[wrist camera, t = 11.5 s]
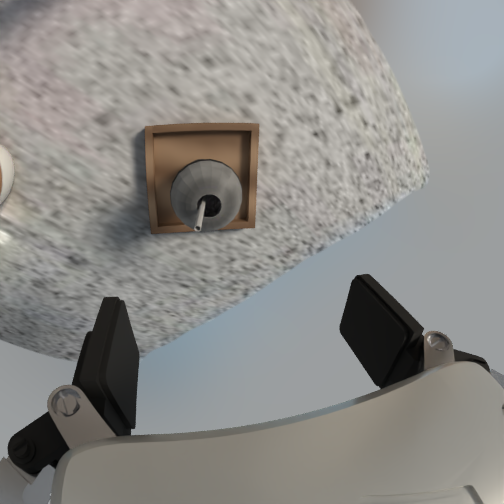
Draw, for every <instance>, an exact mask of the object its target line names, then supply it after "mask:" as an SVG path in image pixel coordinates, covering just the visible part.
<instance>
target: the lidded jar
mask: <svg viewBox="0 0 504 504" xmlns="http://www.w3.org/2000/svg"><path fill="white" fill-rule="evenodd" d="M14 176H15V167H14V162H13V158H12V156H11V154H10V152H9V151H8V150H7V149H6V148H5V147H4V146H2V145H0V204H1V203H2V202H3V201H4V200H5V199H6V197H7V196H8V194H9V192H10V190H11V188H12V185H13V182H14Z"/></svg>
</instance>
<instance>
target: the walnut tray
mask: <svg viewBox="0 0 504 504" xmlns="http://www.w3.org/2000/svg"><path fill="white" fill-rule="evenodd" d="M258 143H259V124H254V123H189V124H169V125H155V126H145V156H146V178H147V193H148V206H149V217H150V228H151V234H159V233H174V232H189V231H195V230H193V229H192V228H190V227H188V226H186V225H185V224H184V223H183V222H182V221H181V220H180V219H179V218H178V217H177V215H176V214H175V212H174V210H173V207H172V205H171V200H170V190H171V186H172V182H173V180H174V178H175V177H176V175H177V174H178V172H179V171H180V170H181V169H182V168H184V167H185V166H186V165H187V164H189V163H191V162H192V161H195V160H197V159H213V160H217V161H221V162H223V163H225V164H226V165H228V166H229V167H231V168H232V169H233V170H234V172H235V173H236V174H237V176H238V177H239V180H240V183H241V186H242V203H241V206H240V209H239V212H238V213H237V215H236V216H235V218H234V219H233V220H232V221H231V222H230V223H229V224H227V225H226V226H225V227H223V228H221V229H218V230H223V229H243V228H255V214H256V191H257V167H258Z"/></svg>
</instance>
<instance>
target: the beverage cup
mask: <svg viewBox="0 0 504 504" xmlns="http://www.w3.org/2000/svg"><path fill="white" fill-rule="evenodd" d="M170 200H171V205H172V207H173V210H174V212H175V214H176V215H177V217H178V218H179V219H180V220H181V221H182V222H183V223H184V224H185V225H186V226H188V227H190V228H192V229H193V230H195V231H197V232H199V231H203V232H208V231H216V230H218V229H221V228H223V227H225V226H226V225H227V224H229V223H230V222H231V221H232V220H233V219H234V218H235V216H236V215H237V213H238V212H239V209H240V206H241V203H242V186H241V183H240V180H239V177H238V176H237V174H236V173H235V172H234V170H233V169H232V168H231V167H229V166H228V165H226V164H225V163H223V162H221V161H217V160H213V159H197V160H195V161H192V162H191V163H189V164H187V165H186V166H185V167H184V168H182V169H181V170H180V171H179V172H178V174H177V175H176V177H175V178H174V180H173V182H172V186H171V190H170Z"/></svg>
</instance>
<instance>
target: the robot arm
mask: <svg viewBox="0 0 504 504" xmlns="http://www.w3.org/2000/svg"><path fill="white" fill-rule="evenodd" d="M423 330H424V328H423V327H422V326H421V325H420V324H419V323H418V322H417V321H416V320H415V319H414V318H413V317H412V315H410V314H409V312H408V311H407V310H405V309H404V307H403V306H401V305H400V303H398V302H397V300H396V299H394V297H393V296H391V295H390V294H389V293H388V292H387V291H386V290H385V289H384V288H383V287H382V286H381V285H380V284H379V283H378V282H377V281H376V280H375V279H374V278H373V277H372V276H371V275H369V274H363V275H357V276H356V277H355V278H354V279H353V280H352V282H351V286H350V290H349V294H348V298H347V302H346V306H345V309H344V313H343V316H342V320H341V323H340V333H341V335H342V336H343V337H344V339H345V340H346V342H347V343H348V345H349V346H350V348H351V349H352V351H353V352H354V354H355V355H356V357H357V358H358V360H359V361H360V362H361V364H362V365H363V367H364V368H365V370H366V371H367V373H368V374H369V376H370V377H371V379H372V380H373V382H374V383H375V385H376V386H379V387H380V388H381V389H380V390H378V391H375V392H372V393H370V394H367V395H364V396H361V397H358V398H355V399H352V400H350V401H346V402H343V403H340V404H337V405H334V406H330V407H327V408H323V409H320V410H316V411H312V412H309V413H305V414H301V415H296V416H292V417H288V418H284V419H279V420H274V421H269V422H264V423H258V424H253V425H247V426H241V427H234V428H226V429H219V430H210V431H199V432H188V433H174V434H151V435H131V429H135V425H136V424H135V423H136V398H137V382H138V368H139V350H138V347H137V344H136V341H135V338H134V334H133V331H132V327H131V324H130V320H129V317H128V313H127V309H126V306H125V302H124V301H123V300H120V299H119V297H104V299H103V301H102V304H101V307H100V310H99V313H98V316H97V319H96V322H95V325H94V328H93V331H89V332H88V333H87V334H86V336H85V340H84V343H83V346H82V349H81V353H80V356H79V359H78V363H77V367H76V370H75V374H74V378H73V382H72V385H63V386H60V387H58V388H56V389H55V390H54V391H53V392H52V393H51V394H50V396H49V398H48V402H47V407H48V412H47V413H45V414H44V415H42V416H41V417H39V418H38V419H36V420H35V421H33V422H32V423H31V424H29V425H28V426H26V427H25V428H23V429H22V430H20V431H19V432H17V433H16V434H14V436H12V437H11V439H10V441H9V443H8V455H9V456H8V458H7V459H5V458H4V457H3V458H2V460H1V461H0V504H48V502H49V500H50V499H51V501H50V504H504V375H502V374H500V373H498V372H497V371H495V370H493V369H491V370H490V369H489V366H488V364H487V362H486V361H485V360H484V359H483V358H481V357H479V356H476V355H472V354H469V353H465V352H462V351H458V350H455V349H453V345H452V342H451V340H450V339H449V338H448V337H447V336H446V335H445V334H443V333H441V332H438V331H429V332H427V333H426V334H425V335H424V336H423V335H422V332H423ZM50 493H51V496H50Z"/></svg>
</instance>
